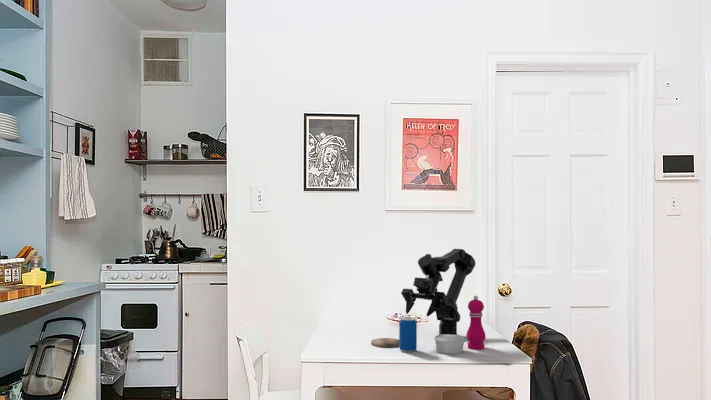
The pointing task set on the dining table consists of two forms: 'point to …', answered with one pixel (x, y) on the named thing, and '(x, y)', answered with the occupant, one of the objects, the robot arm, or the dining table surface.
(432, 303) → the robot arm
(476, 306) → the pepper mill
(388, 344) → the walnut coaster
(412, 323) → the beverage can
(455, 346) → the ramekin
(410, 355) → the dining table surface
